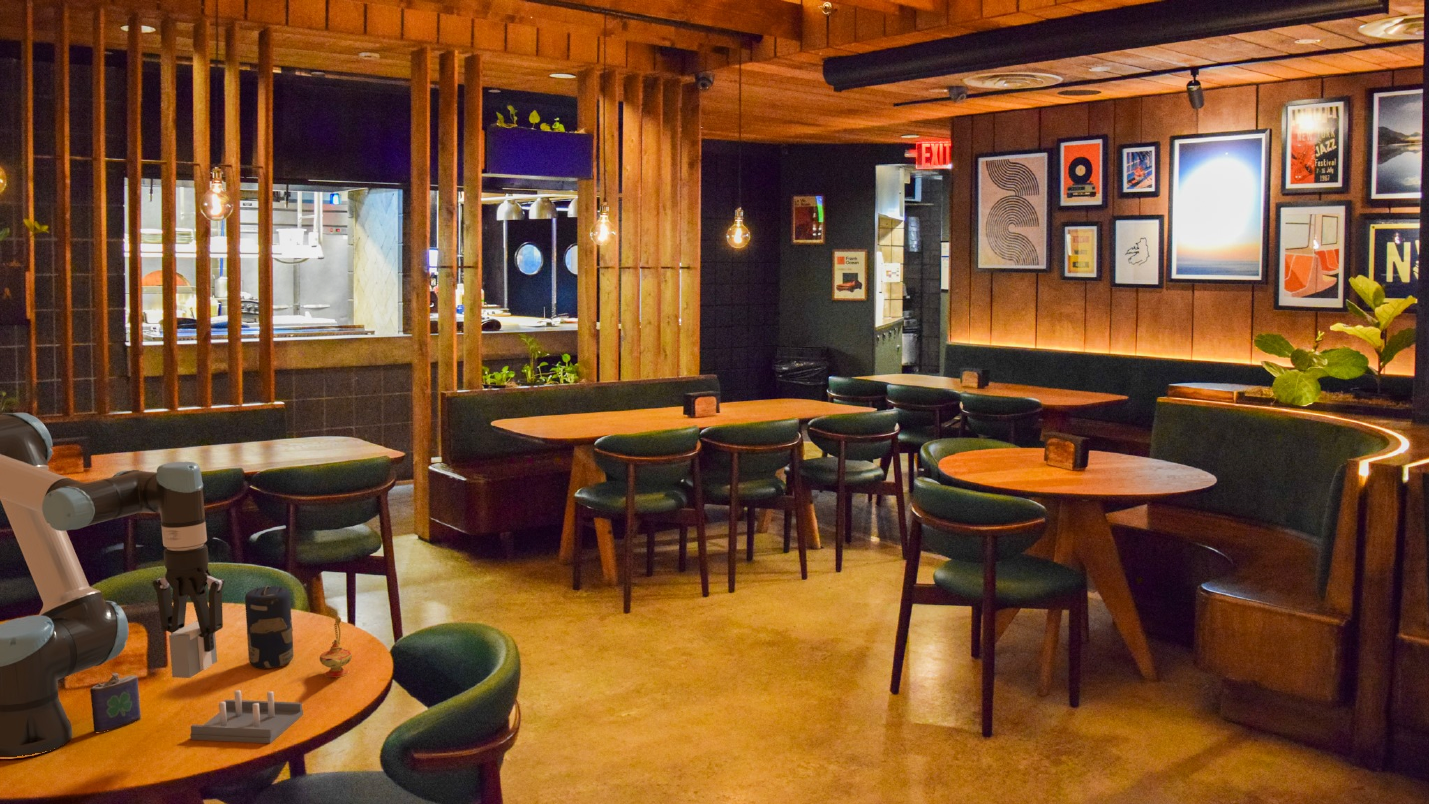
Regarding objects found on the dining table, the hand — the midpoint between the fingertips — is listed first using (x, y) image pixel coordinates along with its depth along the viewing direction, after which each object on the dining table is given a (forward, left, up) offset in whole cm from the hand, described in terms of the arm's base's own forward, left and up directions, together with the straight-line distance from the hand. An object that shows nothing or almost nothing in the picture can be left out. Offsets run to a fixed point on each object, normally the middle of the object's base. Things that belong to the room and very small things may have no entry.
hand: (195, 667), depth 230 cm
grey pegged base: (+5, +9, -15) cm, 18 cm away
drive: (0, 0, 0) cm, 0 cm away
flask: (-21, +7, -16) cm, 27 cm away
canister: (-7, +43, -16) cm, 46 cm away
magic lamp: (+11, +37, -16) cm, 41 cm away
